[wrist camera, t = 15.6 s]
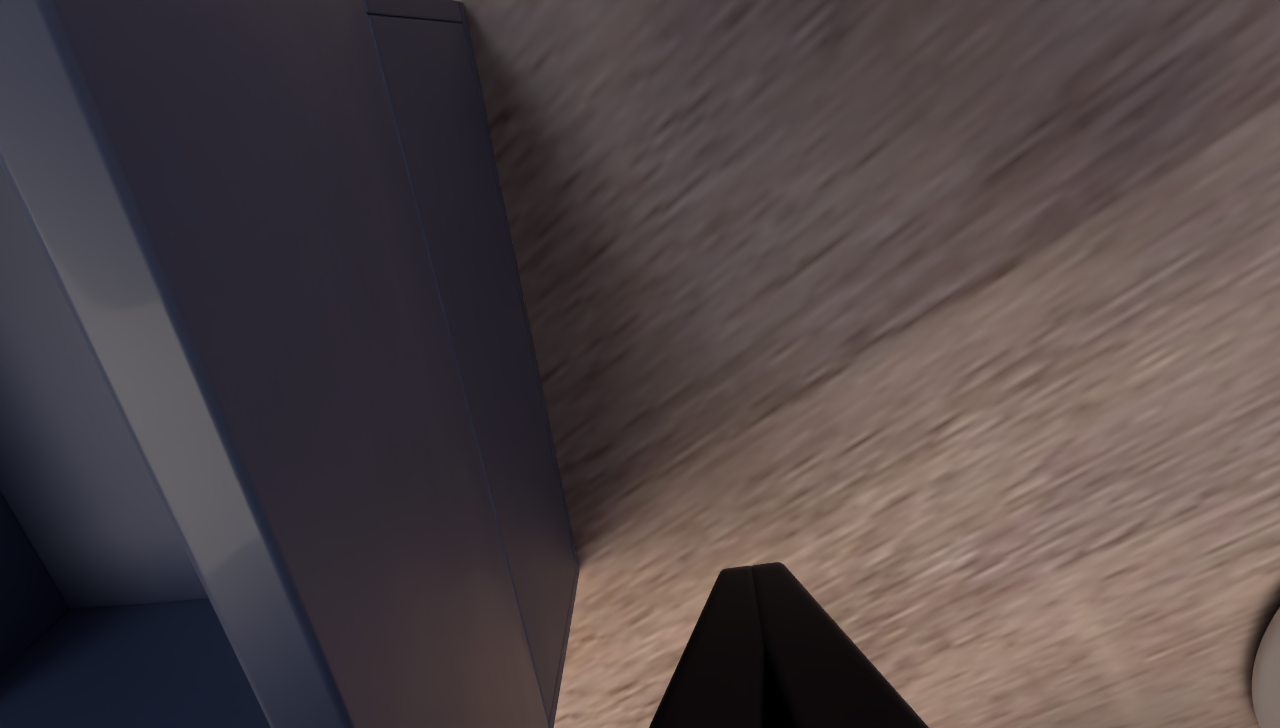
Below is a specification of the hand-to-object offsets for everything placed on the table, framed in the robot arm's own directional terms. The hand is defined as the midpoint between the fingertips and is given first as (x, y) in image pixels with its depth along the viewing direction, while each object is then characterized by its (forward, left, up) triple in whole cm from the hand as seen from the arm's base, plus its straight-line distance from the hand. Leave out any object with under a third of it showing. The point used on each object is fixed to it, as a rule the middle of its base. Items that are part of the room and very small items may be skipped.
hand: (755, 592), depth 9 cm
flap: (0, -4, +1) cm, 4 cm away
